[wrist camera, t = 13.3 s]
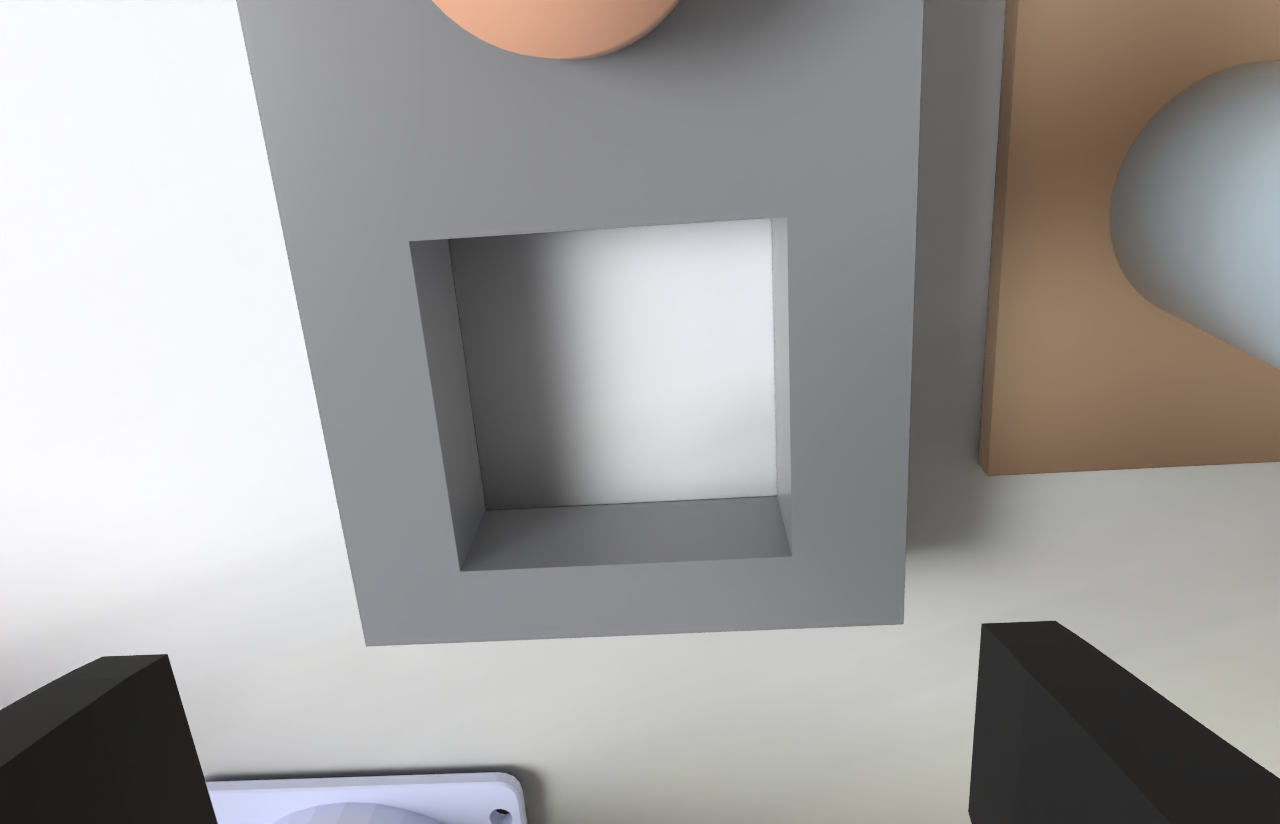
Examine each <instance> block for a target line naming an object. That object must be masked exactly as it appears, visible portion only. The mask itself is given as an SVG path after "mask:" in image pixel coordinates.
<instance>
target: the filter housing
mask: <svg viewBox="0 0 1280 824" xmlns="http://www.w3.org/2000/svg"><path fill="white" fill-rule="evenodd" d="M236 1H237V6H238V11H239V16H240V21H241V26H242V31H243V36H244V41H245V46H246V51H247V56H248V61H249V66H250V71H251V76H252V80H253V85H254V90H255V95H256V100H257V105H258V110H259V115H260V120H261V125H262V130H263V135H264V140H265V145H266V150H267V155H268V160H269V165H270V170H271V175H272V180H273V185H274V190H275V195H276V200H277V205H278V210H279V215H280V220H281V225H282V230H283V235H284V240H285V245H286V250H287V255H288V260H289V265H290V270H291V275H292V280H293V285H294V290H295V295H296V300H297V305H298V310H299V315H300V320H301V324H302V329H303V334H304V339H305V344H306V349H307V354H308V359H309V364H310V369H311V374H312V379H313V384H314V389H315V394H316V399H317V404H318V409H319V414H320V419H321V424H322V429H323V434H324V439H325V444H326V449H327V454H328V459H329V464H330V469H331V474H332V479H333V484H334V489H335V494H336V499H337V504H338V509H339V514H340V519H341V524H342V529H343V534H344V539H345V544H346V549H347V554H348V559H349V564H350V568H351V573H352V578H353V583H354V588H355V593H356V598H357V603H358V608H359V613H360V618H361V623H362V628H363V633H364V638H365V643H366V646H387V645H411V644H435V643H460V642H484V641H508V640H532V639H557V638H581V637H605V636H629V635H654V634H678V633H702V632H726V631H751V630H775V629H799V628H823V627H848V626H872V625H896V624H903V621H904V590H905V559H906V529H907V498H908V468H909V437H910V406H911V376H912V345H913V315H914V284H915V253H916V223H917V192H918V162H919V131H920V100H921V70H922V39H923V9H924V0H680V1H679V3H678V4H677V5H676V7H675V8H674V9H673V11H672V12H671V13H670V14H669V15H668V16H667V17H666V18H665V19H664V20H663V21H662V22H661V23H660V24H659V25H658V26H657V27H656V28H654V29H653V30H652V31H651V32H650V33H648V34H647V35H646V36H644V37H642V38H641V39H639V40H638V41H636V42H635V43H633V44H631V45H629V46H627V47H625V48H623V49H620V50H618V51H616V52H613V53H610V54H606V55H603V56H600V57H595V58H588V59H582V60H559V59H550V58H542V57H535V56H528V55H522V54H518V53H515V52H511V51H507V50H504V49H501V48H499V47H496V46H494V45H492V44H490V43H487V42H485V41H483V40H481V39H479V38H478V37H476V36H474V35H473V34H471V33H469V32H468V31H466V30H464V29H463V28H462V27H461V26H459V25H458V24H457V23H455V22H454V21H453V20H452V19H450V18H449V17H448V16H447V15H446V14H445V13H444V12H443V11H442V10H441V9H440V8H439V7H438V6H437V5H436V4H435V3H434V2H433V1H432V0H236ZM760 218H771V226H772V274H773V323H774V371H775V420H776V468H777V496H773V497H752V498H732V499H712V500H691V501H671V502H650V503H630V504H609V505H589V506H569V507H548V508H528V509H507V510H487V511H486V507H485V500H484V493H483V486H482V479H481V472H480V464H479V457H478V450H477V443H476V436H475V429H474V422H473V415H472V408H471V400H470V393H469V386H468V379H467V372H466V365H465V358H464V351H463V343H462V336H461V329H460V322H459V315H458V308H457V301H456V294H455V286H454V279H453V272H452V265H451V258H450V251H449V244H448V239H454V238H469V237H484V236H500V235H515V234H530V233H546V232H561V231H576V230H592V229H607V228H622V227H638V226H653V225H668V224H684V223H699V222H714V221H730V220H745V219H760Z"/></svg>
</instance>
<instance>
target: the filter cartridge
mask: <svg viewBox="0 0 1280 824" xmlns="http://www.w3.org/2000/svg"><path fill="white" fill-rule="evenodd" d="M1109 222H1110V235H1111V241H1112V245H1113V250H1114V253H1115V256H1116V258H1117V261H1118V264H1119V266H1120V268H1121V270H1122V271H1123V273H1124V275H1125V277H1126V278H1127V280H1128V281H1129V282H1130V283H1131V285H1132V286H1133V287H1134V288H1135V290H1136V291H1137V292H1138V293H1140V294H1141V295H1142V296H1143V297H1144V298H1145V299H1146V300H1147V301H1149V302H1150V303H1152V304H1154V305H1155V306H1157V307H1158V308H1160V309H1162V310H1164V311H1166V312H1168V313H1169V314H1171V315H1173V316H1175V317H1177V318H1179V319H1181V320H1183V321H1185V322H1187V323H1189V324H1191V325H1193V326H1195V327H1197V328H1199V329H1201V330H1202V331H1204V332H1206V333H1208V334H1210V335H1212V336H1214V337H1216V338H1218V339H1220V340H1222V341H1224V342H1226V343H1228V344H1230V345H1232V346H1234V347H1236V348H1237V349H1239V350H1241V351H1243V352H1245V353H1247V354H1249V355H1251V356H1253V357H1255V358H1257V359H1259V360H1261V361H1263V362H1265V363H1267V364H1269V365H1271V366H1272V367H1274V368H1276V369H1278V370H1280V61H1262V62H1254V63H1246V64H1242V65H1239V66H1235V67H1231V68H1227V69H1225V70H1222V71H1220V72H1217V73H1214V74H1212V75H1210V76H1208V77H1206V78H1204V79H1202V80H1200V81H1198V82H1196V83H1194V84H1193V85H1191V86H1190V87H1188V88H1187V89H1185V90H1184V91H1182V92H1181V93H1179V94H1178V95H1176V96H1175V97H1174V98H1173V99H1172V100H1170V101H1169V102H1168V103H1167V104H1166V105H1165V106H1163V107H1162V108H1161V109H1160V110H1159V111H1158V112H1157V113H1156V114H1155V115H1154V117H1153V118H1152V119H1151V120H1150V121H1149V122H1148V123H1147V124H1146V126H1145V127H1144V128H1143V130H1142V131H1141V132H1140V134H1139V135H1138V136H1137V137H1136V139H1135V141H1134V142H1133V144H1132V146H1131V147H1130V149H1129V151H1128V152H1127V154H1126V156H1125V159H1124V161H1123V163H1122V165H1121V167H1120V169H1119V172H1118V175H1117V178H1116V182H1115V185H1114V188H1113V193H1112V199H1111V204H1110V220H1109Z"/></svg>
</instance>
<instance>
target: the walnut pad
mask: <svg viewBox="0 0 1280 824" xmlns="http://www.w3.org/2000/svg"><path fill="white" fill-rule="evenodd" d="M1262 61H1280V0H1006V14H1005V30H1004V47H1003V63H1002V80H1001V96H1000V113H999V129H998V146H997V162H996V179H995V195H994V212H993V228H992V244H991V261H990V277H989V294H988V310H987V327H986V343H985V360H984V376H983V393H982V409H981V426H980V442H979V459H978V464H979V465H980V467H981V468H982V469H983V470H984V472H985V473H986V474H987V476H998V475H1018V474H1039V473H1059V472H1079V471H1099V470H1119V469H1140V468H1160V467H1180V466H1200V465H1220V464H1240V463H1261V462H1280V370H1278V369H1276V368H1274V367H1272V366H1271V365H1269V364H1267V363H1265V362H1263V361H1261V360H1259V359H1257V358H1255V357H1253V356H1251V355H1249V354H1247V353H1245V352H1243V351H1241V350H1239V349H1237V348H1236V347H1234V346H1232V345H1230V344H1228V343H1226V342H1224V341H1222V340H1220V339H1218V338H1216V337H1214V336H1212V335H1210V334H1208V333H1206V332H1204V331H1202V330H1201V329H1199V328H1197V327H1195V326H1193V325H1191V324H1189V323H1187V322H1185V321H1183V320H1181V319H1179V318H1177V317H1175V316H1173V315H1171V314H1169V313H1168V312H1166V311H1164V310H1162V309H1160V308H1158V307H1157V306H1155V305H1154V304H1152V303H1150V302H1149V301H1147V300H1146V299H1145V298H1144V297H1143V296H1142V295H1141V294H1140V293H1138V292H1137V291H1136V290H1135V288H1134V287H1133V286H1132V285H1131V283H1130V282H1129V281H1128V280H1127V278H1126V277H1125V275H1124V273H1123V271H1122V270H1121V268H1120V266H1119V264H1118V261H1117V258H1116V256H1115V253H1114V250H1113V245H1112V241H1111V235H1110V222H1109V220H1110V204H1111V199H1112V193H1113V188H1114V185H1115V182H1116V178H1117V175H1118V172H1119V169H1120V167H1121V165H1122V163H1123V161H1124V159H1125V156H1126V154H1127V152H1128V151H1129V149H1130V147H1131V146H1132V144H1133V142H1134V141H1135V139H1136V137H1137V136H1138V135H1139V134H1140V132H1141V131H1142V130H1143V128H1144V127H1145V126H1146V124H1147V123H1148V122H1149V121H1150V120H1151V119H1152V118H1153V117H1154V115H1155V114H1156V113H1157V112H1158V111H1159V110H1160V109H1161V108H1162V107H1163V106H1165V105H1166V104H1167V103H1168V102H1169V101H1170V100H1172V99H1173V98H1174V97H1175V96H1176V95H1178V94H1179V93H1181V92H1182V91H1184V90H1185V89H1187V88H1188V87H1190V86H1191V85H1193V84H1194V83H1196V82H1198V81H1200V80H1202V79H1204V78H1206V77H1208V76H1210V75H1212V74H1214V73H1217V72H1220V71H1222V70H1225V69H1227V68H1231V67H1235V66H1239V65H1242V64H1246V63H1254V62H1262Z"/></svg>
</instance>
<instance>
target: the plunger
mask: <svg viewBox="0 0 1280 824" xmlns="http://www.w3.org/2000/svg"><path fill="white" fill-rule="evenodd" d="M432 1H433V2H434V3H435V4H436V5H437V6H438V7H439V8H440V9H441V10H442V11H443V12H444V13H445V14H446V15H447V16H448V17H449V18H450V19H452V20H453V21H454V22H455V23H457V24H458V25H459V26H461V27H462V28H463V29H464V30H466V31H468V32H469V33H471V34H473V35H474V36H476V37H478V38H479V39H481V40H483V41H485V42H487V43H490V44H492V45H494V46H496V47H499V48H501V49H504V50H507V51H511V52H515V53H518V54H522V55H528V56H535V57H542V58H550V59H559V60H582V59H588V58H595V57H600V56H603V55H606V54H610V53H613V52H616V51H618V50H620V49H623V48H625V47H627V46H629V45H631V44H633V43H635V42H636V41H638V40H639V39H641V38H642V37H644V36H646V35H647V34H648V33H650V32H651V31H652V30H653V29H654V28H656V27H657V26H658V25H659V24H660V23H661V22H662V21H663V20H664V19H665V18H666V17H667V16H668V15H669V14H670V13H671V12H672V11H673V9H674V8H675V7H676V5H677V4H678V3H679V1H680V0H432Z"/></svg>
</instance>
